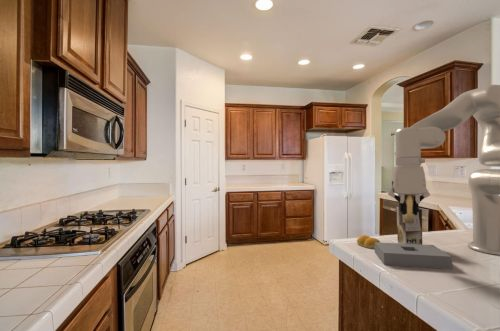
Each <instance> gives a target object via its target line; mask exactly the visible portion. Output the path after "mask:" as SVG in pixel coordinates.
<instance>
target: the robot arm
mask: <svg viewBox="0 0 500 331" xmlns="http://www.w3.org/2000/svg"><path fill="white" fill-rule="evenodd" d="M472 116H473V118H474V119H475V121H477V123H478V124H479V126H480V128H481V130H482V131H481V132H482V135H481V141H480V145H479V151H478V162H479V164H480V165H483V166H486V167H497V168H499V169H497V168H484V169H478V170H474V171H473V172H471V173H470V175H469V176H468V185H469V189H470V194H471V199H472V200H471V202H472V203H471V204H472V241H471V242H468V244H467V247H468V248H470V249H471V250H474V251H476V252H479V253H480V252H481V253H483V254H489V255H490V254H491V255H495V256H496V255H497V256H500V84H489V85H485V86H482V87H478V88H474V89H470V90H468V91H465V92H463V93H461V94H460V95H458V96H457V97H455V98H454V99H453V100H452V101H451V102H450V103H448V104H447V105H445V106H444V107H443V108H442V109H439V110H437V111H436V112H434V113H432V114H431V115H428V116H426V117H424V118H422V119H420V120H419V121H417V122H415V123H414V124H412V125H411V126H410V127H408V126H407V127H401V128H398V129H397V130H395V134H394V135H395V140H394V142H395V166H393V167H392V172H391V179H390V189H389V191H388V193H387V195H388V196H390V197H391V198H393V199H394V200H396V201H397V202H398V206H399V211H400V212H401V214H403V215H405V214H406V204H405V203H404V196H405V194H408V195H414V215H417V212H419V209H420V208H419V205H420V203H421V202H422V201H423V200H424V199H426V198H429V197H430V196H431V194H430V192H429V190H428V189H427V180H426V175H425V174H426V173H425V170H424V166H422V164H425V163H426V159H425V158H422V157H421V155H422V154H421V153H422V152H421V151H422V149H423V150H424V149H434V148H437V147H438V148H439V147H440V146H441V145H443V144H444V143H445V141H446V133H445V132H448V131H450V130H452V129H455V128H458V127H460V126H461V125H462V124H463V123H465V122H466V121H468V119H469V118H471V117H472Z"/></svg>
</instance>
